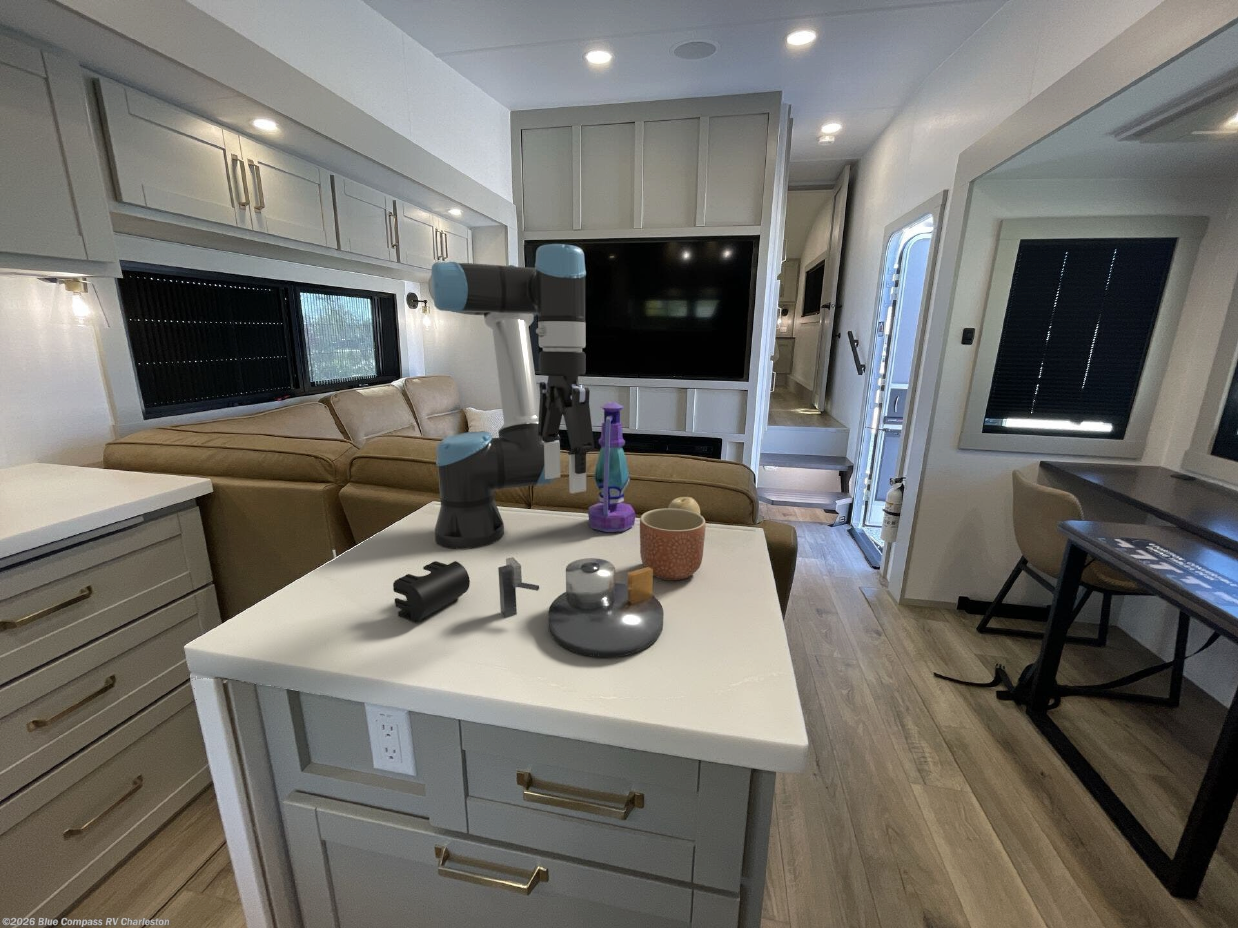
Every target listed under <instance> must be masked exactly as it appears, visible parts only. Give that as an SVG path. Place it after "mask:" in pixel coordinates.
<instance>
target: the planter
mask: <svg viewBox="0 0 1238 928" xmlns="http://www.w3.org/2000/svg"><path fill="white" fill-rule="evenodd" d="M639 519H640V520H639V545H640V546H639V549H640V550H639V552H640V553H639V554H640V561H641V563H642V565H643V566H644V568H646V567H650V568H651V569H653V577H654V576H655V577H657V578H659V579H662V580H664V581H665V580H666V581H679V580H684V579H687V578H690V576H693V575H694V574H695V573H696V572H697V571H698V570H699V569H700V567H701V565H702V561H703V557H704V546H705V539H706V526H707V525H706V520H705V518H704V516H703V515H701V514H700V515H699V514H697V513H695V512H692V511H688V510H683V509H673V508H666V507H665V508H657V509H652V510H649V511H646V512H644V513H643V514H641V515H640V518H639Z"/></svg>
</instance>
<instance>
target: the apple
mask: <svg viewBox="0 0 1238 928" xmlns="http://www.w3.org/2000/svg"><path fill="white" fill-rule="evenodd" d="M668 508H673V509H683V510H688V511H692V512H695V513H697V514H699V515H701V509H700V505H699V504H698V502H697V501H696V499H694V498H693V497H689V496H680V497H675V499H672V500H671V502H670V503H669V505H668Z"/></svg>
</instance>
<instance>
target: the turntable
mask: <svg viewBox="0 0 1238 928" xmlns="http://www.w3.org/2000/svg"><path fill="white" fill-rule="evenodd" d="M627 576H628V577H627V581H628V582H627V583H628V584H626V583H625V584H624V583H618V582H615V598H614V600H613V602H612V603H610V604H609V605H607V606H605V607H602V608H598V609H582V608H577V607H575V606H572V605H571V604H570V603H568V601H567V599H566V591H565V592H563V593H561V594H559V595H558V596H557V597H556V598H555V599H554V600H553V601H552V602H551V603H550V606H549V609H548V613H547V616H548V618H547V620H548V623H547V625H548V632H549V633H550V635H551V637H552V639H553V640H554V641H555V642H556V643H558V645H560V646H561V647H563V648H565V649H567V650H568V651H571V652H573V653H576V654H579V655H582V656H589V657H594V658H595V657H596V658H614V657H621V656H623V657H624V656H627V655H631V654H634V653H638V652H640V651H642V650H644V649H646V648H648V647H650V646H651V645H652V644H654V643H655V642H656V641H657V640H658V639H659V637H660V636H661V634H662V631H663V629H664V607H663V605H662V604H661V602H660V601H659V599H658V598H657V597H655V595H653V586H654V585H653V582H654V575H653V569H651V568H650V567H646V568H645V567H644V568H640V569H636V570H632V571H629V572H628V573H627Z"/></svg>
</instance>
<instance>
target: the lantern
mask: <svg viewBox="0 0 1238 928" xmlns="http://www.w3.org/2000/svg"><path fill="white" fill-rule="evenodd" d="M599 407H600V408H601V409H602V410H604V411H603V422H602V423H601V434H600V438H599V439H598V443H599V445H600V446H601V447H600V450H599V452H598V453H599V454H598V456H597V459H596V460H597V461H596V465H595V470H594V474H593V479H594V482H595V484H596V486H597V487H598V489H599V494H598V496H599V497H598V501H599V502H597V503H596V504H593V505H591V506H589V507H588V510H587V511H588V513H587V514H588V523H589V525H590V528H591V529H594V530H597V531H601V532H604V533H616V532H625V531H626V530H628V529H631V528H632V527H634V525H635V521H636V512H635V510H634V508H633V506H632V505H631V504H629V503H624V502H625V499H624V497H625V493H624V492H625V490H626V489H627V486H629V483H630V474H629V469H628V463H627V459H626V455H625V451H624V449H623V447H624V446H625V445H626V444H625V443H626V440H625V439H624V438H623V425H622V423H621V422H620V421H621V411H622V409H624V408H625V406H623V405H621V404H619V403H617V402H615V401H609V402H607V403H605V404H601V405H600V406H599Z"/></svg>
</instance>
